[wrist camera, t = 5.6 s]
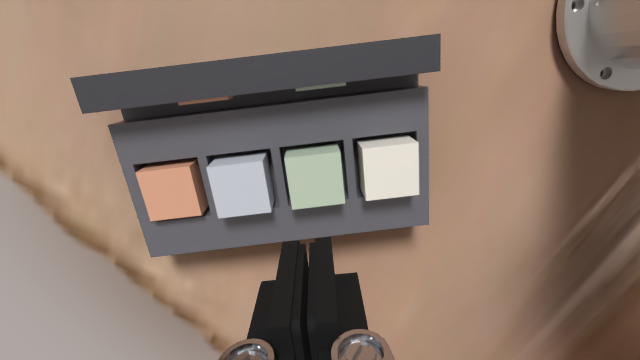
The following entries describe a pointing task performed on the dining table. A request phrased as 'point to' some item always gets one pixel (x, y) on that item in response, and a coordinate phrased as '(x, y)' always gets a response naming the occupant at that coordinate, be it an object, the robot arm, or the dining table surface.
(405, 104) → the keypad
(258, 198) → the key slate
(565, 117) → the dining table surface
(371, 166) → the key cream
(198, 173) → the key terracotta
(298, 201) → the key sage
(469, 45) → the dining table surface
